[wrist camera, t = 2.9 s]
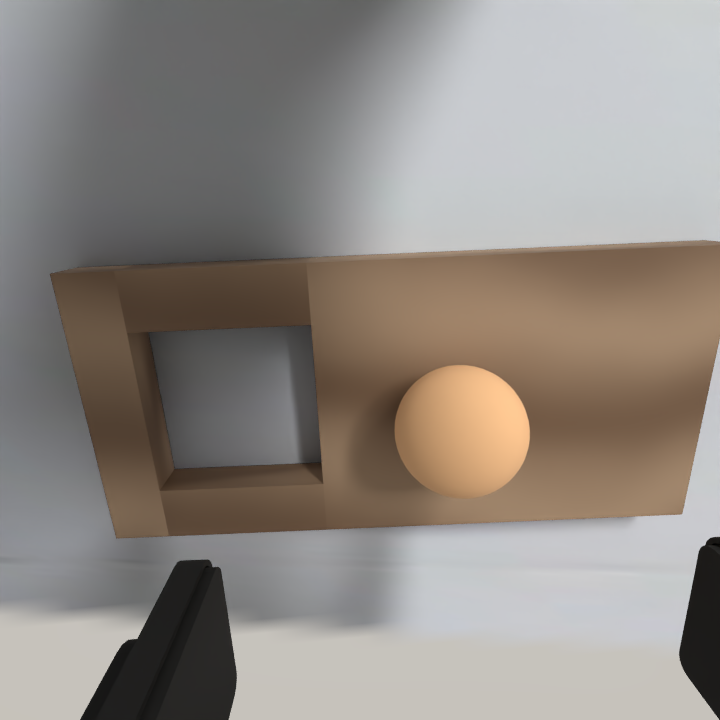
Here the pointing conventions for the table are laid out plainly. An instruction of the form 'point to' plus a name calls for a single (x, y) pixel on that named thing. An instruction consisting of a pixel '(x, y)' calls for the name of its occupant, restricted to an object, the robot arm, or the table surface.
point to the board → (412, 379)
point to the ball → (462, 431)
